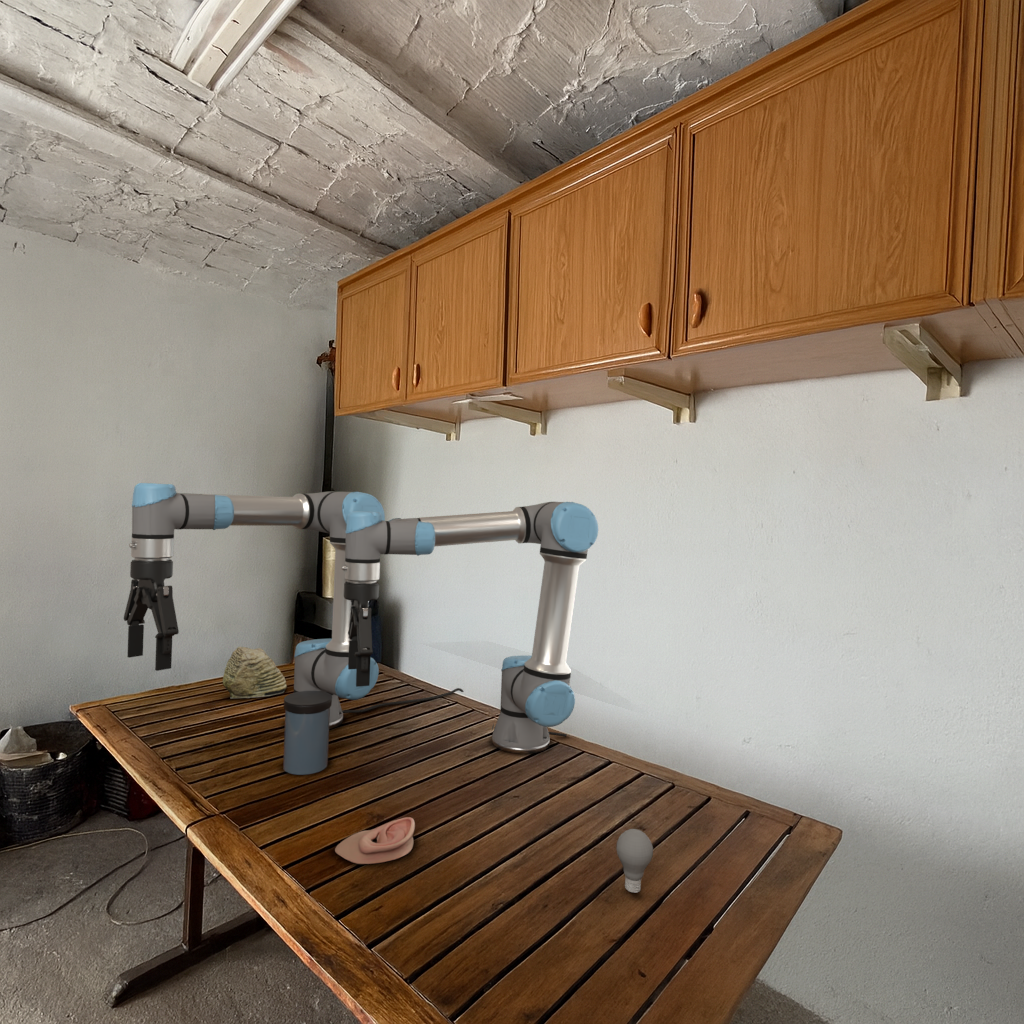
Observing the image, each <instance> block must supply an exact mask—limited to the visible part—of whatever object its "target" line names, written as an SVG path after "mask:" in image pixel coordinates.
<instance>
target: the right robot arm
mask: <svg viewBox="0 0 1024 1024" xmlns="http://www.w3.org/2000/svg"><path fill="white" fill-rule="evenodd" d="M598 535H599V523H598V520H597V517H596V515H595V514H594V513H593V511H592V510H591V509H590V508H589V507H587V506H586V505H584V504H581V503H578V502H574V501H546V502H542V503H537V504H531V505H527V506H526V505H523V506H515V508H514V509H513V510H511V511H497V512H496V511H495V512H482V513H481V512H480V513H465V514H452V515H451V514H450V515H436V516H422V517H421V516H420V517H409V518H401V517H395V518H391V519H389V520H385V521H383V520H382V515H381V513H380V512H368V511H352V512H350V513H349V514H348V516H347V526H346V545H345V564H346V566H343V567H342V570H346V571H345V579H346V580H347V582H345V583H344V598H345V599H347V600H351V609H350V610H351V612H350V622H349V631H348V635H349V640H351V641H349V659H348V669H357V670H356V687H358V686H369V684H370V657H371V656H372V655H373V654H374V650H373V631H372V628H373V627H372V611H373V610H372V607H370V606H369V602H370V601H376V600H378V599H379V595H380V583H379V582H378V581H379V580H380V576H381V555H399V556H400V555H401V556H403V555H405V556H409V555H410V556H417V557H419V556H424V555H426V556H427V555H431V554H432V553H433V552H434V549H435V547H445V546H446V547H447V546H459V545H470V544H471V545H472V544H483V543H496V542H509V541H515V542H516V543H518V544H535V545H536V544H537V545H540V547H539V555H540V556H541V557H542V559H543V560H544V562H543V571H542V578H541V585H540V591H539V592H540V593H539V600H538V608H537V615H536V622H535V630H534V637H533V643H532V651H531V655H512V656H506V657H505V658H504V659H503V660H502V666H501V669H500V672H501V679H500V680H501V682H500V683H501V684H500V707H499V709H500V710H499V715H498V717H497V721H496V723H494V722H493V723H492V726H491V731H492V738H491V743H492V745H493V746H494V747H496V748H497V749H499V750H500V751H504V752H506V753H512V754H519V755H527V754H529V755H531V754H537V753H539V752H543V751H545V750H547V749H548V748H549V747H550V743H551V741H550V739H551V737H550V736H558V737H564V738H567V736H568V735H567V733H561V732H554V731H549V729H548V728H553V727H557V726H559V725H561V724H563V723H564V722H565V721H566V720H568V719H569V717H570V716H571V714H572V713H573V712H574V709H575V706H576V697H575V696H576V695H575V693H574V690H573V688H572V687H571V686H570V683H571V678H572V677H571V676H572V669H571V667H570V666H569V664H568V663H567V659H568V652H569V651H568V650H569V644H570V638H571V637H570V636H571V629H572V621H573V616H574V615H573V614H574V607H575V599H576V594H577V593H576V592H577V586H578V578H579V572H580V571H579V570H580V566H581V565H582V564H584V563H585V562H586V561H587V559H588V551H589V549H590V548H591V547H592V546H593V545H594V544H595V543H596V541H597V539H598ZM371 658H372V657H371Z"/></svg>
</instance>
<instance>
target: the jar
mask: <svg viewBox="0 0 1024 1024" xmlns="http://www.w3.org/2000/svg"><path fill="white" fill-rule="evenodd" d="M329 720H330V708H329V709H327V710H324V711H321V712H317V713H309V714H299V713H292V712H288V711H286V710H285V709H284V733H283V734H284V735H283V738H284V739H283V762H282V769H283V771H284V772H286V773H288V774H291V775H298V776H305V775H312V774H316V773H319V772H322V771H323V770H325V769H327V767H328V765H329V743H330V729H329Z"/></svg>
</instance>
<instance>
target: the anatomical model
mask: <svg viewBox="0 0 1024 1024" xmlns="http://www.w3.org/2000/svg"><path fill="white" fill-rule="evenodd" d="M415 828H416V823H415V820H414V818H413V817H410V816H409V817H402V818H398V819H395V820H392V821H389V822H386V823H384V824H382V825H380V826H377V827H375V828H372V829H368V830H361V831H358V832H356V833H353V834H352V835H350V836H348V837H346V838H345V839H343V840H342V841H340V843H338V844H337V845H336V846H335V848H334V852H335V853H336V854H337V855H338V856H340V857H341V858H343V859H344V860H347V861H348V862H351V863H353V864H357V865H369V864H370V865H371V864H380V863H385V862H390V861H394V860H398V859H400V858H402V857H404V856H407V855H408V854H409V853H410V852H411V851H412V849H413V847H414V837H413V835H414V833H415Z"/></svg>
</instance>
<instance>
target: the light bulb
mask: <svg viewBox="0 0 1024 1024" xmlns="http://www.w3.org/2000/svg"><path fill="white" fill-rule="evenodd" d="M615 849H616V854H617V857H618V859H619V861H620V863H621V865H622V867H623V873H624V874H623V875H624V876H625V878H624V888H625V890H627V891H628V892H630V893H634V894H635V893H639V892H640V891H641V889H642V887H641V886H642V879H643V877H644V875H645V871H646V868H647V867H648V866H649V864H650V863H651V861H652V859H653V855H654V847H653V843H652V841H651V838H649V836H648V835H647V834H646V833H645V832H643V831H642V830H641V829H636V828H629V829H627V830H625V831H623V832H622V833H621V834H620V835H619V837H618V839H617V841H616V847H615Z"/></svg>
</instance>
